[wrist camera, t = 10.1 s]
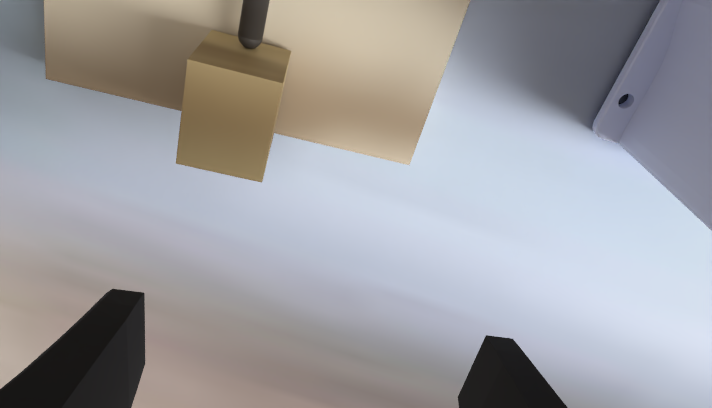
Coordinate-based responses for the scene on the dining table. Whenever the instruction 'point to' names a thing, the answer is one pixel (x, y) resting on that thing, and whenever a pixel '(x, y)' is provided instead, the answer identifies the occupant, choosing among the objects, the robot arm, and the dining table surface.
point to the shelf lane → (284, 30)
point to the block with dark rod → (233, 98)
